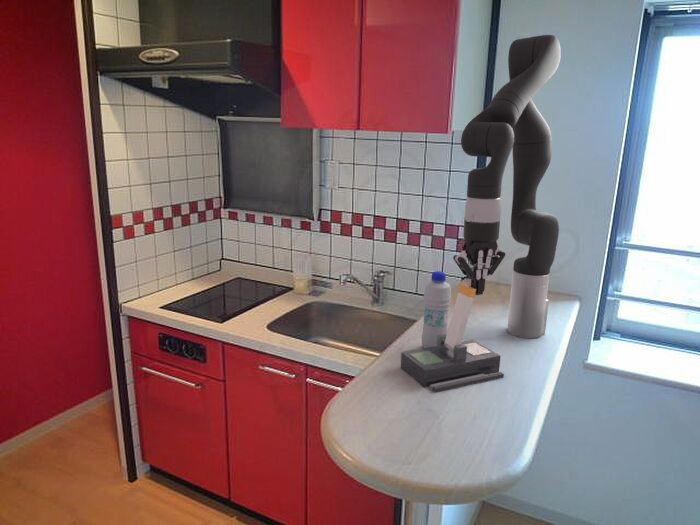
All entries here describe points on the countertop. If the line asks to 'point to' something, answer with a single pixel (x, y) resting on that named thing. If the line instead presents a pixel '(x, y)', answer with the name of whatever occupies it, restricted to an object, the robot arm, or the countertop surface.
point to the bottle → (435, 309)
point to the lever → (459, 316)
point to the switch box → (449, 362)
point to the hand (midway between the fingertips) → (477, 293)
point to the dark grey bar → (465, 381)
